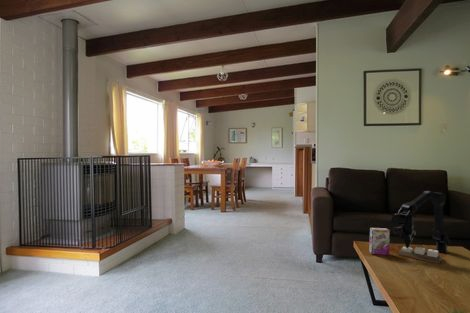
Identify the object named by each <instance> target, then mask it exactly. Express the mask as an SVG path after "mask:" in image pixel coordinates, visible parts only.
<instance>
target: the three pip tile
mask: <svg viewBox="0 0 470 313" xmlns="http://www.w3.org/2000/svg"><path fill="white" fill-rule="evenodd" d="M401 248H402V251H404V252H409V253H412V250H413V247H410V246H409V248H406V245H405V246H404V245H403V247H401Z"/></svg>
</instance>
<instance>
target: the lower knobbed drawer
mask: <svg viewBox="0 0 470 313" xmlns="http://www.w3.org/2000/svg"><path fill="white" fill-rule="evenodd" d="M426 252H427V256H431V257H436V258H437V257H438V255H439V252H438V251H437V250H436V249H432V248H431V249H430V248H429V249H428V250H427V251H426Z"/></svg>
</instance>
